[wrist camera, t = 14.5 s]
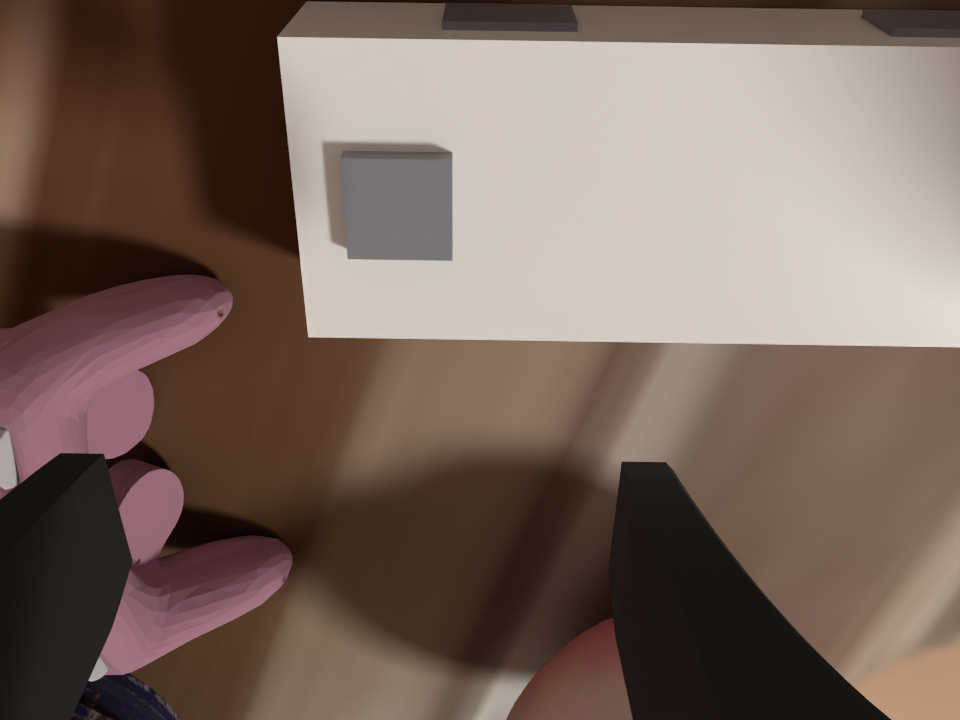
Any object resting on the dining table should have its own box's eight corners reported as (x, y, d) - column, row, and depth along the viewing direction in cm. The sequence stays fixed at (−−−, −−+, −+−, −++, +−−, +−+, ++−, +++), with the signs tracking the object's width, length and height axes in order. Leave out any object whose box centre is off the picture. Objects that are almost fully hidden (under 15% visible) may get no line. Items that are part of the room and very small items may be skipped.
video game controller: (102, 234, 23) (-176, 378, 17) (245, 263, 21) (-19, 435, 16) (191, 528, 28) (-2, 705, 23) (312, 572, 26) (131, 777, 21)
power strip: (1113, 5, 18) (1232, 47, 15) (1011, 281, 21) (1092, 359, 18) (305, -7, 18) (271, 33, 15) (329, 270, 21) (304, 347, 18)
